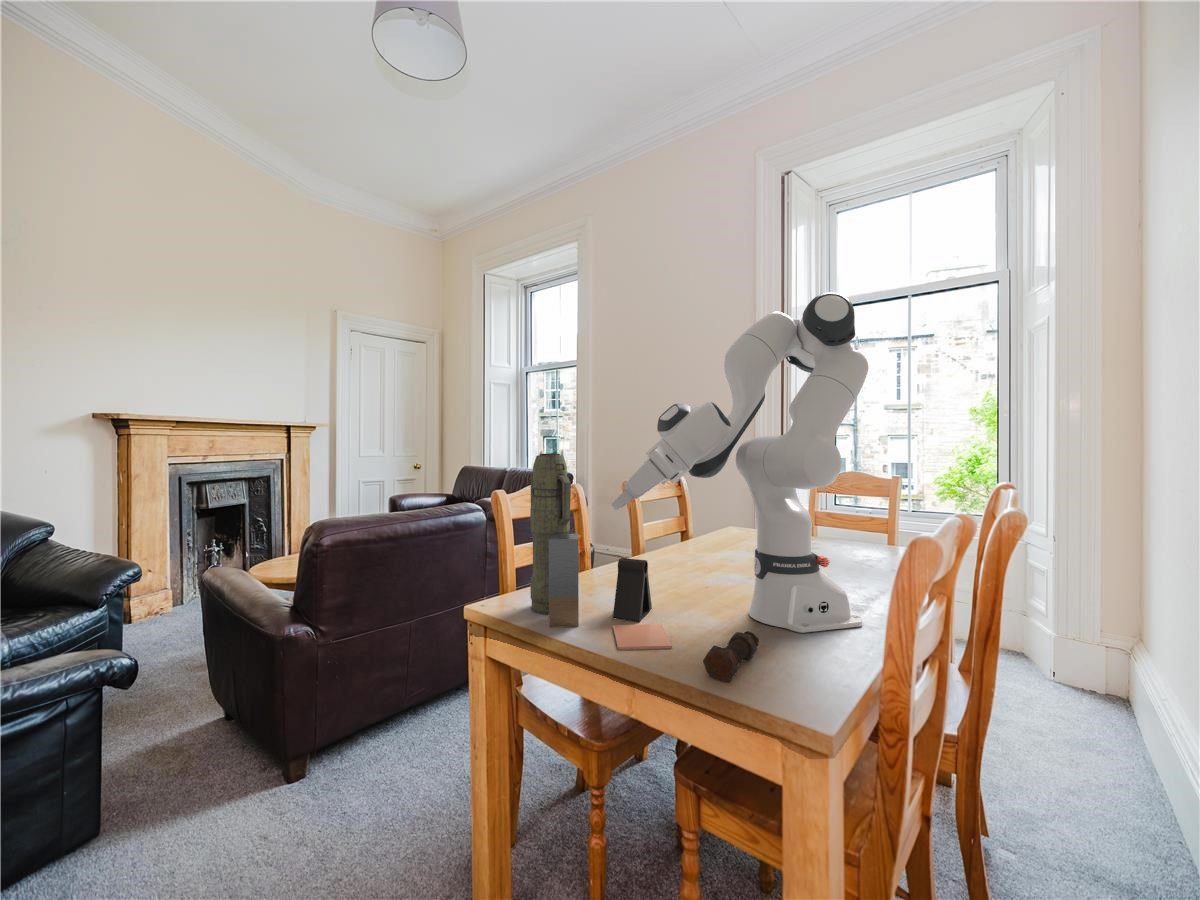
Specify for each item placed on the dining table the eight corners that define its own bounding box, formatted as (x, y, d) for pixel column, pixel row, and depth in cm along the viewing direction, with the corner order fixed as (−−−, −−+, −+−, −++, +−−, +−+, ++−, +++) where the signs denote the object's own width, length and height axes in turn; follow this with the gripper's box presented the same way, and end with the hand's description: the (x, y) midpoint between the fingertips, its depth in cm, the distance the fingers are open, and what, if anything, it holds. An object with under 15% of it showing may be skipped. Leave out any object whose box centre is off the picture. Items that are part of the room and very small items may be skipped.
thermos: (557, 619, 111) (557, 454, 110) (518, 608, 118) (517, 453, 117) (583, 608, 118) (583, 453, 117) (544, 598, 125) (544, 452, 124)
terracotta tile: (661, 626, 107) (661, 624, 107) (672, 648, 96) (672, 645, 96) (613, 627, 106) (613, 625, 106) (618, 649, 95) (618, 647, 95)
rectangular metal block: (579, 616, 113) (579, 533, 112) (580, 626, 107) (579, 539, 106) (550, 617, 112) (549, 533, 112) (549, 627, 106) (548, 539, 106)
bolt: (754, 661, 95) (722, 691, 83) (731, 641, 97) (697, 668, 85) (771, 636, 93) (741, 664, 81) (747, 617, 96) (714, 641, 83)
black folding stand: (627, 606, 120) (627, 554, 119) (652, 609, 117) (652, 556, 117) (612, 618, 111) (612, 562, 111) (639, 622, 109) (639, 565, 109)
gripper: (656, 454, 121) (612, 493, 122) (653, 449, 101) (600, 496, 101) (675, 475, 120) (629, 514, 121) (675, 473, 100) (621, 521, 101)
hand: (616, 506), depth 111 cm, fingers open, 8 cm apart
